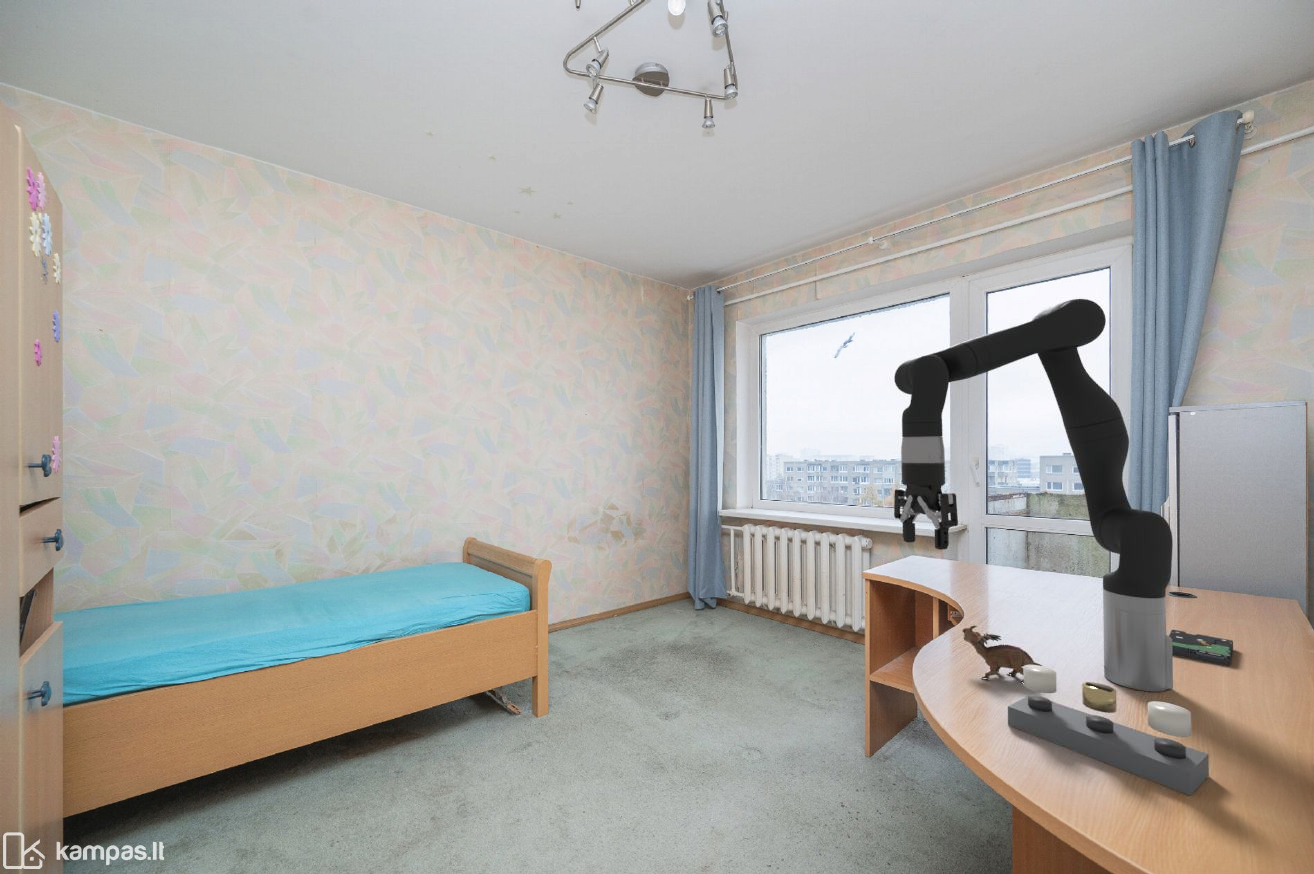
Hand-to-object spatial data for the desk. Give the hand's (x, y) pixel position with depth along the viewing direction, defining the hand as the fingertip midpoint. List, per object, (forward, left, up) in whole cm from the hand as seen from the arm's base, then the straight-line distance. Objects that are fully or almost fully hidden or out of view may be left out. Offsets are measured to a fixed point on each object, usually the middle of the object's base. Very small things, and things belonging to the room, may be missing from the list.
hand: (924, 545), depth 107 cm
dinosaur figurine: (-17, -5, -27) cm, 32 cm away
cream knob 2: (-22, +27, -20) cm, 41 cm away
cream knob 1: (-12, +15, -20) cm, 28 cm away
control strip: (-17, +21, -26) cm, 38 cm away
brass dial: (-17, +21, -20) cm, 34 cm away
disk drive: (-68, -24, -27) cm, 77 cm away
